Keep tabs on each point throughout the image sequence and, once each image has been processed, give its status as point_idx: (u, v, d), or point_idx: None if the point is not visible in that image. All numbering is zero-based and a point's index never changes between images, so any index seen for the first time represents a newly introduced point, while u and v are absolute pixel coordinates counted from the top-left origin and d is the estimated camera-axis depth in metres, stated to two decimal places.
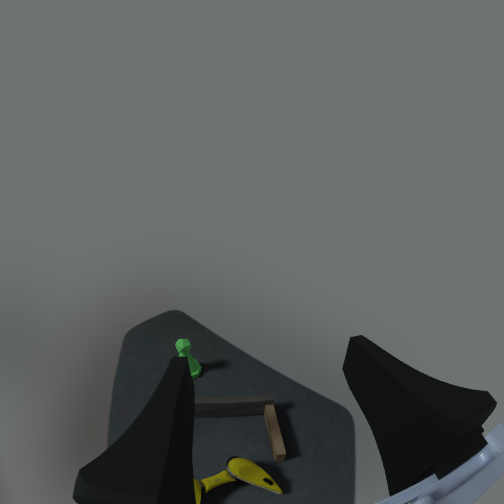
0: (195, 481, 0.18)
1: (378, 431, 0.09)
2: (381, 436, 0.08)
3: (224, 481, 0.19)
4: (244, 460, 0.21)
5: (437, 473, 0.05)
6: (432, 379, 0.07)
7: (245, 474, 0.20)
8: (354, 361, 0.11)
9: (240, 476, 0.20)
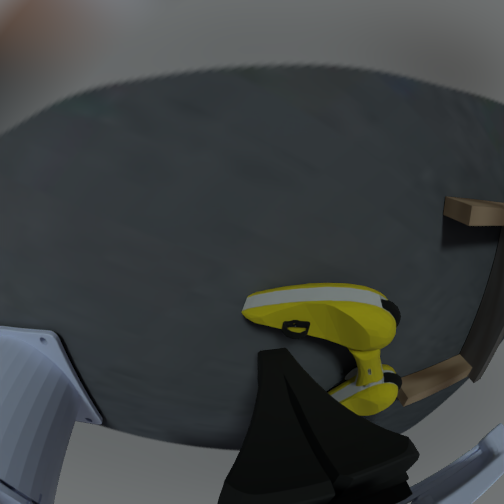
0: (382, 347, 0.10)
1: None
2: None
3: (361, 377, 0.12)
4: None
5: None
6: (344, 410, 0.07)
7: (361, 402, 0.12)
8: None
9: (361, 397, 0.12)
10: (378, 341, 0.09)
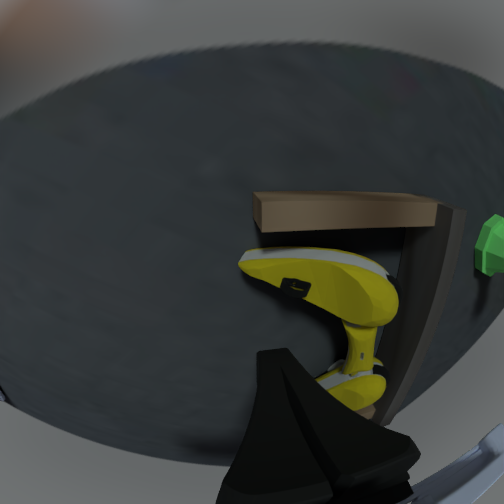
0: (381, 325, 0.10)
1: None
2: None
3: (351, 362, 0.11)
4: (372, 403, 0.12)
5: None
6: (346, 409, 0.07)
7: (345, 394, 0.12)
8: None
9: (346, 387, 0.12)
10: (381, 314, 0.09)
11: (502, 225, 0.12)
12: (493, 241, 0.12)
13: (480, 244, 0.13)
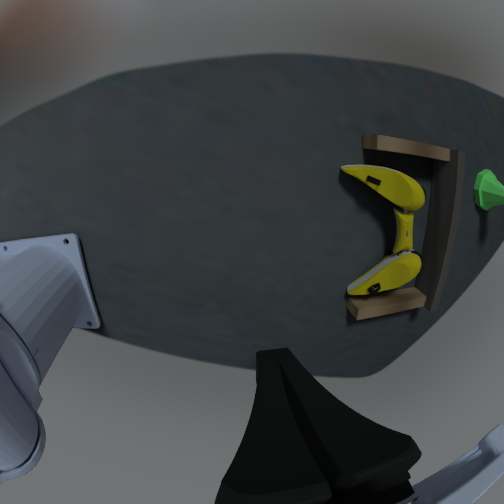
0: (417, 208, 0.16)
1: None
2: None
3: (400, 240, 0.18)
4: (414, 276, 0.18)
5: None
6: (346, 409, 0.07)
7: (397, 268, 0.19)
8: None
9: (398, 262, 0.19)
10: (417, 198, 0.16)
11: (490, 175, 0.19)
12: (484, 183, 0.19)
13: (477, 185, 0.20)
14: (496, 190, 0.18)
